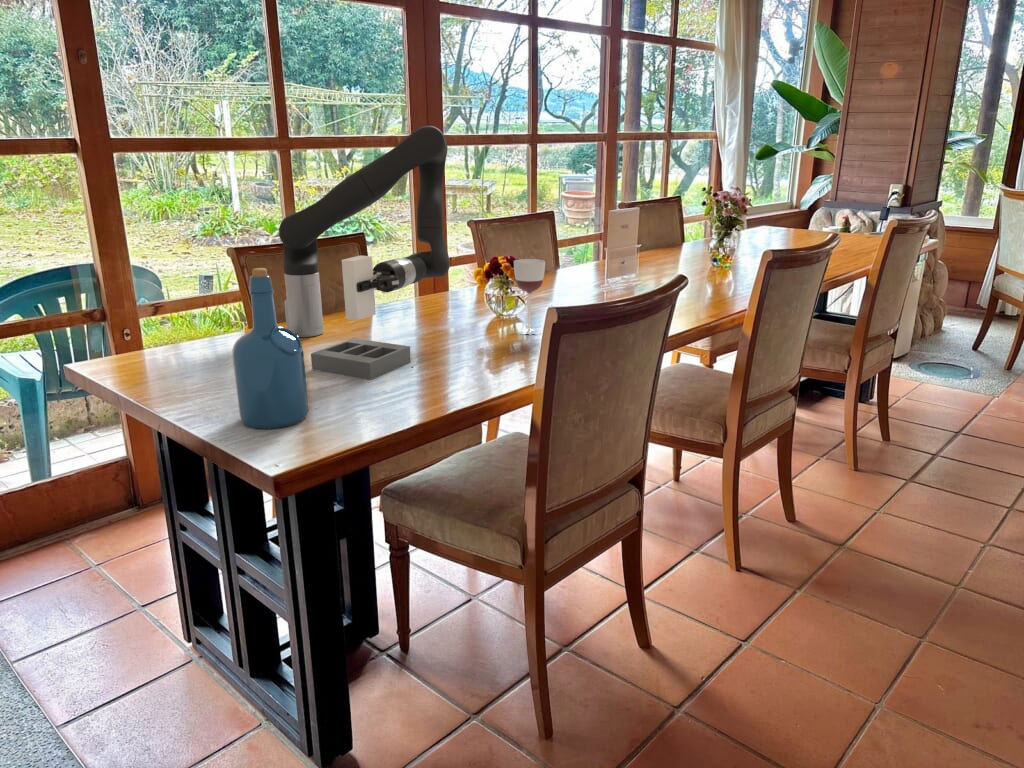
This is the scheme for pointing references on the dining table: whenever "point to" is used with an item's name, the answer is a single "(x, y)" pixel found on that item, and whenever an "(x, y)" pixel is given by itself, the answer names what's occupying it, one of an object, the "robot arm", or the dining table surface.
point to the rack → (361, 358)
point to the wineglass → (529, 279)
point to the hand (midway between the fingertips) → (351, 286)
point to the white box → (356, 302)
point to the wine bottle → (269, 365)
